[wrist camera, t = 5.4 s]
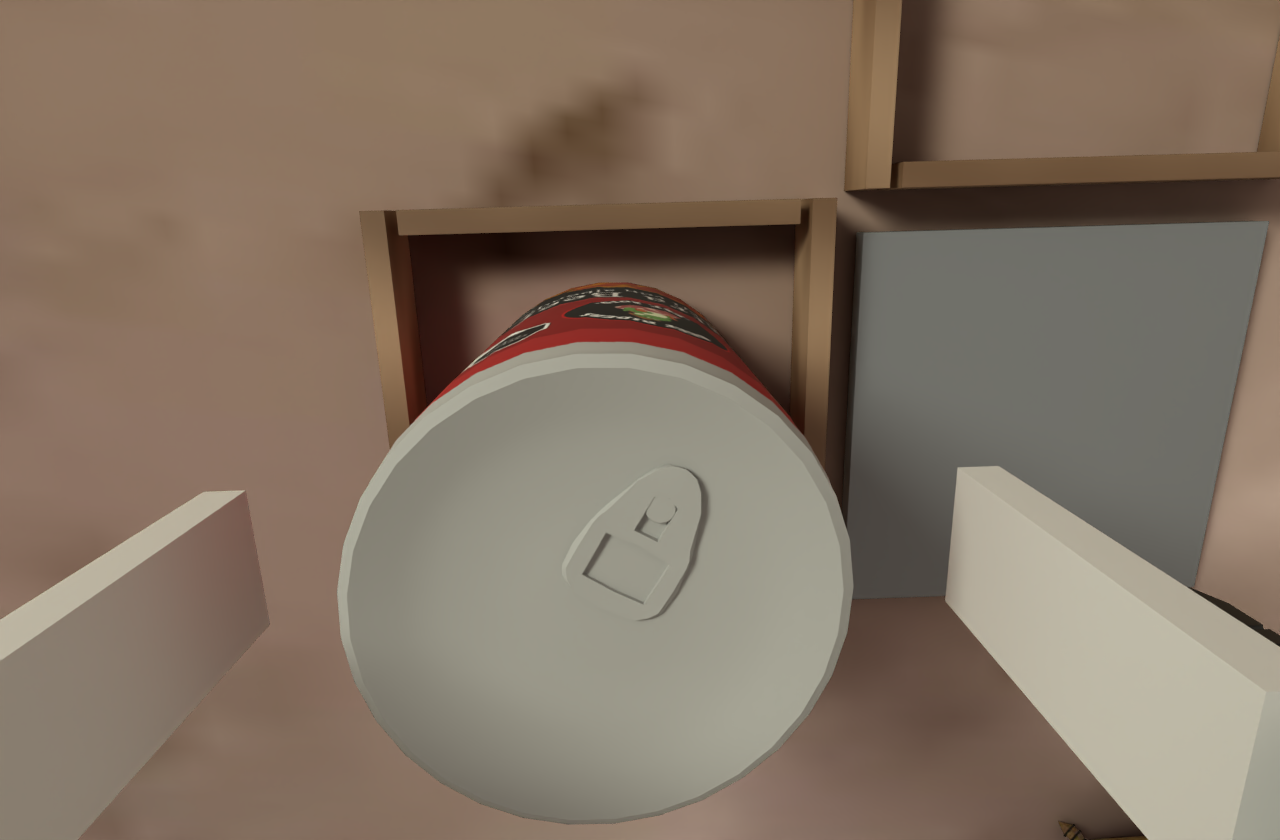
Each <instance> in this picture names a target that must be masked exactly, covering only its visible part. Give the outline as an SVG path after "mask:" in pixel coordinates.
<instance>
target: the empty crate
mask: <svg viewBox="0 0 1280 840" xmlns="http://www.w3.org/2000/svg"><path fill="white" fill-rule="evenodd" d="M901 10H902V0H853V20H852V41H851V62H850V82H849V103H848V124H847V144H846V165H845V186H844V191H862V190H875V189H877V190H898V189H933V188H969V187H1004V186H1040V185H1076V184H1111V183H1147V182H1183V181H1218V180H1247V179H1252V180H1254V179H1280V37H1279V42H1278V47H1277V52H1276V57H1275V62H1274V67H1273V73H1272V78H1271V83H1270V88H1269V93H1268V98H1267V103H1266V108H1265V113H1264V118H1263V124H1262V129H1261V134H1260V139H1259V144H1258V149H1257V152H1243V153H1207V154H1171V155H1134V156H1098V157H1062V158H1025V159H989V160H953V161H916V162H900V163H895V164H892V148H893V133H894V117H895V102H896V87H897V71H898V56H899V40H900V25H901Z"/></svg>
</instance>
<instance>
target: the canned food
mask: <svg viewBox="0 0 1280 840" xmlns="http://www.w3.org/2000/svg"><path fill="white" fill-rule="evenodd" d="M853 587H854V586H853V573H852V561H851V548H850V539H849V536H848V532H847V529H846V526H845V523H844V519H843V516H842V513H841V510H840V506H839V503H838V500H837V497H836V494H835V492H834V491H833V489H832V486H831V483H830V480H829V478H828V476H827V474H826V472H825V471H824V469H823V467H822V465H821V464H820V462H819V460H818V458H817V457H816V455H815V453H814V452H813V450H812V448H811V446H810V445H809V443H808V441H807V439H806V438H805V436H804V435H803V434H802V433H801V432H800V430H799V429H798V428H797V427H796V425H795V424H794V422H793V421H792V419H791V417H790V416H789V415H788V414H787V412H786V411H785V410H784V409H783V408H782V407H781V405H780V404H779V403H778V402H777V401H776V400H775V398H774V397H773V396H772V395H771V394H770V393H769V391H768V390H767V389H766V388H765V387H764V385H763V384H762V383H761V382H760V381H759V380H758V378H757V377H756V376H755V375H754V374H753V373H752V371H751V370H750V369H749V368H748V367H747V366H746V364H745V363H744V362H743V361H742V360H741V359H740V357H739V356H738V355H737V354H736V353H735V351H734V350H733V349H732V348H731V347H730V346H729V344H728V343H727V342H726V341H725V340H724V339H723V337H722V336H721V335H720V334H719V333H718V332H717V331H716V330H715V328H714V327H713V326H712V325H711V324H710V323H709V322H708V321H707V320H706V319H705V317H704V316H703V315H701V314H700V313H699V312H697V311H696V310H694V309H693V308H692V307H690V306H689V305H687V304H686V303H685V302H683V301H682V300H681V299H678V298H676V297H674V296H672V295H669V294H667V293H665V292H662V291H660V290H658V289H656V288H651V287H647V286H642V285H637V284H632V283H595V284H590V285H585V286H581V287H576V288H571V289H569V290H567V291H564V292H562V293H560V294H557V295H555V296H553V297H550V298H548V299H546V300H544V301H543V302H541V303H540V304H538V305H537V306H535V307H534V308H532V309H531V310H530V311H528V312H527V313H525V314H524V315H522V316H521V317H520V318H519V319H518V320H517V321H516V322H515V323H514V324H513V325H512V326H511V327H510V328H508V329H507V330H506V331H505V332H504V333H503V334H502V335H501V336H500V337H499V338H498V339H497V340H496V341H495V342H494V343H493V344H491V345H490V346H489V347H488V348H487V349H486V350H485V351H484V352H483V353H482V354H481V355H480V356H479V357H478V358H477V359H476V360H474V361H473V362H472V363H471V364H470V365H469V366H468V367H467V368H466V369H465V370H464V371H463V372H462V373H461V374H460V375H459V376H457V377H456V378H455V379H454V380H453V381H452V382H451V383H450V384H449V385H448V386H447V387H446V388H445V389H444V390H443V391H442V392H441V393H440V394H439V395H438V396H437V397H436V398H435V399H434V400H433V401H432V403H431V404H430V405H429V406H428V407H427V408H426V409H425V410H424V411H423V412H422V413H421V414H420V415H419V416H418V417H417V418H416V419H415V421H414V422H413V423H412V424H411V425H410V426H409V427H408V428H407V429H406V430H405V431H404V433H403V434H402V435H401V436H400V437H399V438H398V439H397V440H396V441H395V443H394V444H393V446H392V447H391V449H390V451H389V452H388V454H387V455H386V457H385V459H384V460H383V462H382V463H381V465H380V467H379V468H378V470H377V471H376V473H375V474H374V476H373V478H372V479H371V481H370V483H369V485H368V487H367V488H366V490H365V492H364V493H363V495H362V496H361V498H360V500H359V503H358V506H357V509H356V511H355V514H354V517H353V520H352V522H351V525H350V528H349V531H348V533H347V536H346V539H345V542H344V544H343V551H342V559H341V566H340V574H339V581H338V589H337V597H338V609H339V621H340V633H341V640H342V643H343V646H344V650H345V653H346V656H347V659H348V663H349V666H350V669H351V672H352V676H353V679H354V682H355V684H356V685H357V687H358V689H359V691H360V693H361V694H362V696H363V698H364V700H365V702H366V703H367V705H368V707H369V709H370V711H371V712H372V714H373V716H374V718H375V720H376V721H377V722H378V723H379V725H380V726H381V727H382V728H383V729H384V730H385V732H386V733H387V734H388V735H389V736H390V738H391V739H392V740H393V741H394V742H395V743H396V745H397V746H398V747H399V748H400V749H401V750H402V752H403V753H404V754H405V755H406V756H407V757H409V758H410V759H411V760H413V761H414V762H415V763H416V764H418V765H419V766H420V767H421V768H423V769H424V770H425V771H426V772H428V773H429V774H430V775H431V776H433V777H434V778H435V779H436V780H438V781H439V782H440V783H442V784H444V785H446V786H448V787H450V788H451V789H453V790H455V791H457V792H459V793H461V794H463V795H465V796H466V797H468V798H470V799H472V800H474V801H476V802H478V803H480V804H482V805H485V806H489V807H492V808H495V809H498V810H501V811H504V812H507V813H510V814H513V815H516V816H519V817H522V818H528V819H535V820H542V821H549V822H555V823H562V824H615V823H620V822H626V821H631V820H637V819H642V818H648V817H653V816H659V815H662V814H665V813H667V812H670V811H673V810H676V809H679V808H681V807H684V806H687V805H690V804H693V803H696V802H698V801H701V800H704V799H705V798H707V797H709V796H711V795H713V794H714V793H716V792H718V791H720V790H722V789H723V788H725V787H727V786H729V785H731V784H732V783H734V782H736V781H738V780H740V779H741V778H743V777H744V776H746V775H747V774H748V773H749V772H751V771H752V770H753V769H754V768H756V767H757V766H758V765H759V764H761V763H762V762H763V761H764V760H766V759H767V758H768V757H769V756H771V755H772V754H773V753H774V752H776V751H777V750H778V749H779V748H780V747H781V746H782V745H783V744H784V742H785V741H786V740H787V739H788V738H789V737H790V736H791V734H792V733H793V732H794V731H795V730H796V729H797V728H798V726H799V725H800V724H801V723H802V722H803V721H804V720H805V718H806V717H807V716H808V715H809V714H810V712H811V710H812V708H813V707H814V705H815V703H816V702H817V700H818V698H819V697H820V695H821V693H822V692H823V690H824V688H825V686H826V685H827V683H828V681H829V680H830V678H831V676H832V674H833V671H834V669H835V666H836V663H837V660H838V657H839V654H840V652H841V649H842V646H843V643H844V640H845V637H846V635H847V631H848V624H849V617H850V609H851V602H852V594H853Z"/></svg>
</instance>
